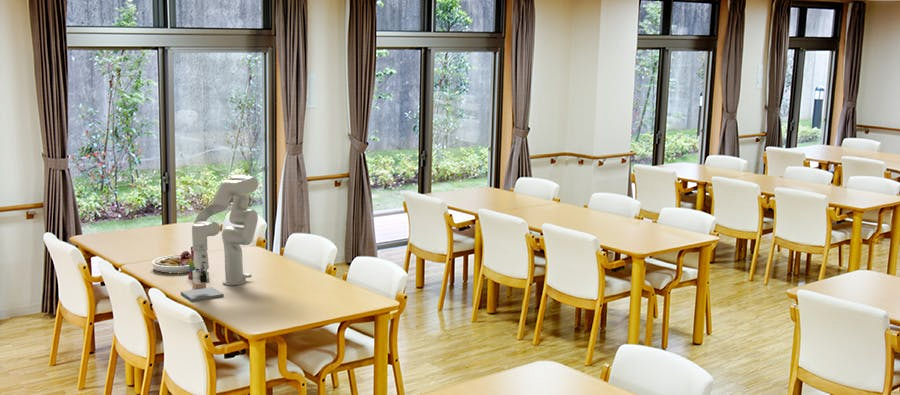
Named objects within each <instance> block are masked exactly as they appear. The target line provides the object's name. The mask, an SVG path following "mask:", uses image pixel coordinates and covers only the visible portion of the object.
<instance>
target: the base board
mask: <svg viewBox="0 0 900 395" xmlns="http://www.w3.org/2000/svg"><path fill="white" fill-rule="evenodd" d="M180 295H181V296H183V297H184V298H186V299H187V298H188V299H187V300H188V301H190V302H192V303H193V302H194V303H195V302H198V301H199V302H200V301H206V300H211V299H212V300H213V299H217V298H223V297H224V295H225V294H224V293H223V292H221V291H220V290H218V289H216V288H214V287H213V286H208V287H207V286H206V288H201V289H190V290H189V289H188V290H183V291H180Z"/></svg>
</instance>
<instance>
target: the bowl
mask: <svg viewBox="0 0 900 395" xmlns="http://www.w3.org/2000/svg"><path fill="white" fill-rule="evenodd" d="M191 257H192V254H191V252H189V251H188V250H184V251H183V252H182V253H181V254H173V255H166V256H161V257H157V258H155V259H154V260H152V262H151V263H152V267H153V268H154V270H155V271H156V272H159V271H161V272H160V273H162V272H171V273H170V274H172V273H175V274H181V273H180V272H187V273H190V272H189V271H190V269H189V262H190V258H191ZM178 272H179V273H178Z"/></svg>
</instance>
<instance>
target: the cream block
mask: <svg viewBox="0 0 900 395" xmlns="http://www.w3.org/2000/svg"><path fill="white" fill-rule="evenodd" d="M203 271H204V270H202V272H203ZM200 275H201V272H200V270H195V271H193V279H192V280H193V282H194V283H196V284H205V283H206V284H210V272H209V270H207V282H203V283H201V282H200Z"/></svg>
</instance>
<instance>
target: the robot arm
mask: <svg viewBox="0 0 900 395" xmlns="http://www.w3.org/2000/svg"><path fill="white" fill-rule="evenodd" d="M258 188H259V180H258V179H257V178H256V177H255V176H252V175H250V176H249V175H237V174H235V175H231V176H230V177H229V179H225V180H223V181H221V183H220V184H219V186H218V188H217V190H216V192H215V195H214V197H213V198H212V201H211V202H210V203H209V204H207V205H206V206H205V207H203V209H201V210H200V211H199V213H198V214H197V216H196V218H195V220H194V223H193V224H192V226H191V235H192V236H191V237H192V238H191V240H192V246H193V251H194V267H195V270H200V272H201V275H200V282H201V283H203V282H207V271H208V270H209V267H210V266H209V265H210V264H209V256H208V249H209V248H208V237H215V236H216V235H218V234H219V233H220V231H221V225H220V223H218V222H216V221H209V219H210V218H211V217H212V216H215V215H217V214H220V213H222V212H224V211H225V212H226V210H227V209H228V206H229V205H230V202H231V200H232V199H233V202H232V206H231V207H230V213H229V216H228V217H229V218H228V220H229V222H230V223H231V224H232V225H235V226H231V225H230V226H226V227H225V228H224V229H223V230H222V231H221V240H222V244H223V249H224V273H225V279H223V280H222V284H223V285H226V286H239V285H243V284H246V282H247V279H248V278H252V275H253V274H251V273H244V270H243V268H244V266H243V250H242V247H241V246H249V245H251V244H252V242H253V240H254V237H255V233H256V229H257V225H258V220H259V217H258V216H259V215H258V212H257V211H256V210H255V209H252V208H248V207H249V204H250V198H249V194H252V193H254V192H255V191H257V189H258ZM240 226H243V227H240ZM201 268H204V269H201ZM202 270H204V271H203V272H202Z"/></svg>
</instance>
